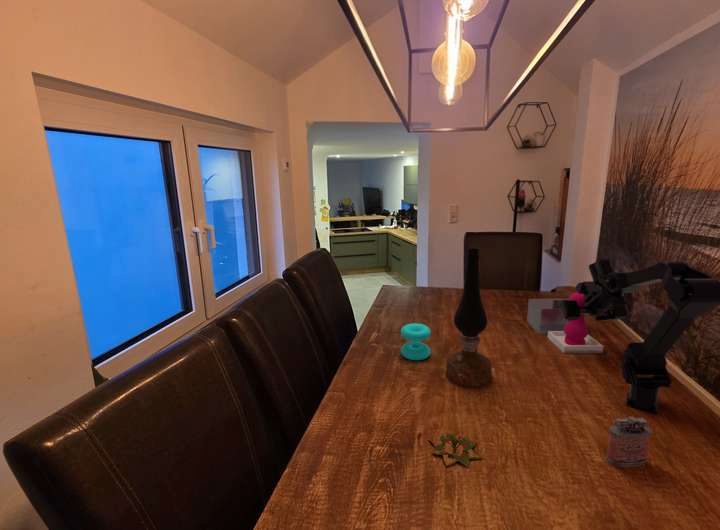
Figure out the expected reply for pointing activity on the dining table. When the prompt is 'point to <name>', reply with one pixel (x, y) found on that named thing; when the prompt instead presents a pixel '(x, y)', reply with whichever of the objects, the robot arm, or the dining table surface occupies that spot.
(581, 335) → the pepper mill
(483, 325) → the oil lamp
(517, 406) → the dining table surface
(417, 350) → the turquoise spool
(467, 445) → the green leafy cluster
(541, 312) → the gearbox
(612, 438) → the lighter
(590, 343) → the tray
